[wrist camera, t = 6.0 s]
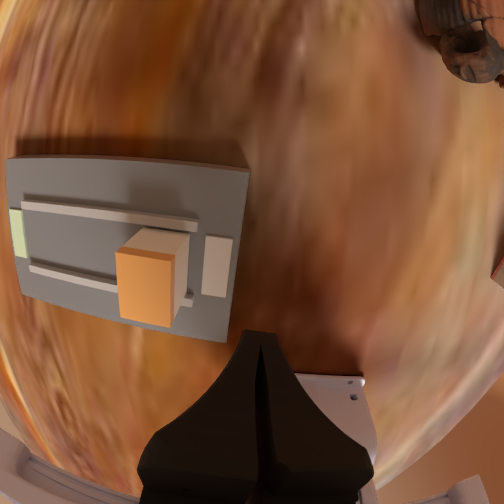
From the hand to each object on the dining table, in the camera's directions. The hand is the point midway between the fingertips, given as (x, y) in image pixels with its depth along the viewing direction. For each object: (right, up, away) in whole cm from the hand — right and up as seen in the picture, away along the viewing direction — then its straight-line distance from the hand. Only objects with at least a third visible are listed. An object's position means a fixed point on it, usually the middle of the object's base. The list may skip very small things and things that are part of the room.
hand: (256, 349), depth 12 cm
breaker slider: (-6, +4, +6) cm, 9 cm away
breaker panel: (-10, +5, +8) cm, 14 cm away
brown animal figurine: (+16, +20, +1) cm, 25 cm away
